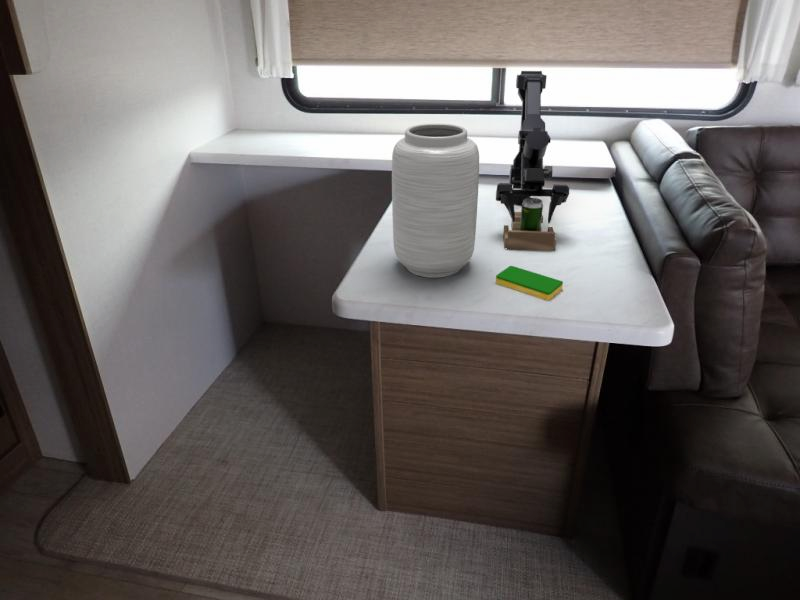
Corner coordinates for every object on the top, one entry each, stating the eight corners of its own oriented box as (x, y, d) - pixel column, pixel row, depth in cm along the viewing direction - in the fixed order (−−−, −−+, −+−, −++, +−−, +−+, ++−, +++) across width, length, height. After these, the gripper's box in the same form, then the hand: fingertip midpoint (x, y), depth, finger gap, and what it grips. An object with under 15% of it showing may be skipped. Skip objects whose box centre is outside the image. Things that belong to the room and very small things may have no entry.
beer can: (530, 249, 153) (535, 206, 147) (514, 243, 156) (518, 201, 150) (542, 243, 156) (547, 200, 150) (526, 237, 159) (530, 196, 153)
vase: (382, 256, 150) (378, 124, 134) (452, 244, 156) (457, 117, 140) (411, 290, 133) (410, 145, 117) (488, 275, 140) (498, 135, 123)
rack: (503, 235, 161) (504, 218, 158) (551, 236, 160) (553, 220, 157) (504, 249, 153) (506, 231, 150) (555, 251, 151) (557, 233, 149)
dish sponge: (510, 273, 141) (510, 264, 140) (562, 290, 133) (563, 281, 132) (494, 284, 136) (495, 275, 135) (548, 302, 129) (549, 293, 127)
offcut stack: (511, 226, 167) (512, 211, 165) (539, 226, 166) (541, 212, 164) (512, 232, 162) (513, 217, 160) (541, 233, 161) (543, 218, 159)
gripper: (499, 153, 149) (497, 208, 145) (573, 154, 147) (573, 210, 143) (496, 173, 160) (494, 225, 156) (565, 175, 158) (565, 228, 154)
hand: (531, 222), depth 152 cm, fingers open, 9 cm apart
